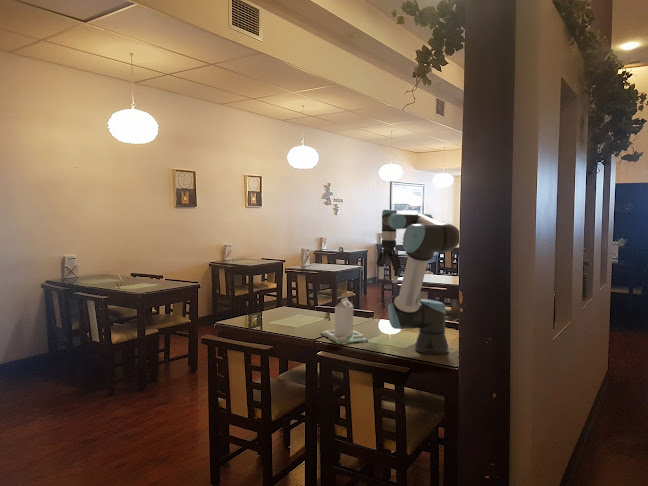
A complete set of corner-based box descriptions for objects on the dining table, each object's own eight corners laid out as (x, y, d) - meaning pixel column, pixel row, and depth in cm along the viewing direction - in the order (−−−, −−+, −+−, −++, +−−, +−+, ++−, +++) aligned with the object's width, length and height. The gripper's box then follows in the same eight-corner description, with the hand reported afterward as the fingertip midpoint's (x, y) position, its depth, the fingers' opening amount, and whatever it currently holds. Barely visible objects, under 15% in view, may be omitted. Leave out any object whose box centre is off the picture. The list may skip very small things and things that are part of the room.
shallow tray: (367, 341, 230) (368, 336, 230) (338, 344, 223) (338, 340, 223) (347, 331, 250) (348, 326, 250) (320, 333, 244) (320, 329, 243)
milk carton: (334, 336, 235) (334, 298, 234) (340, 332, 241) (341, 296, 240) (347, 337, 232) (347, 300, 231) (353, 334, 238) (353, 298, 237)
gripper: (408, 241, 229) (407, 283, 231) (382, 238, 252) (381, 277, 253) (395, 241, 226) (394, 284, 228) (370, 238, 249) (369, 277, 250)
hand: (387, 280), depth 240 cm, fingers open, 13 cm apart
